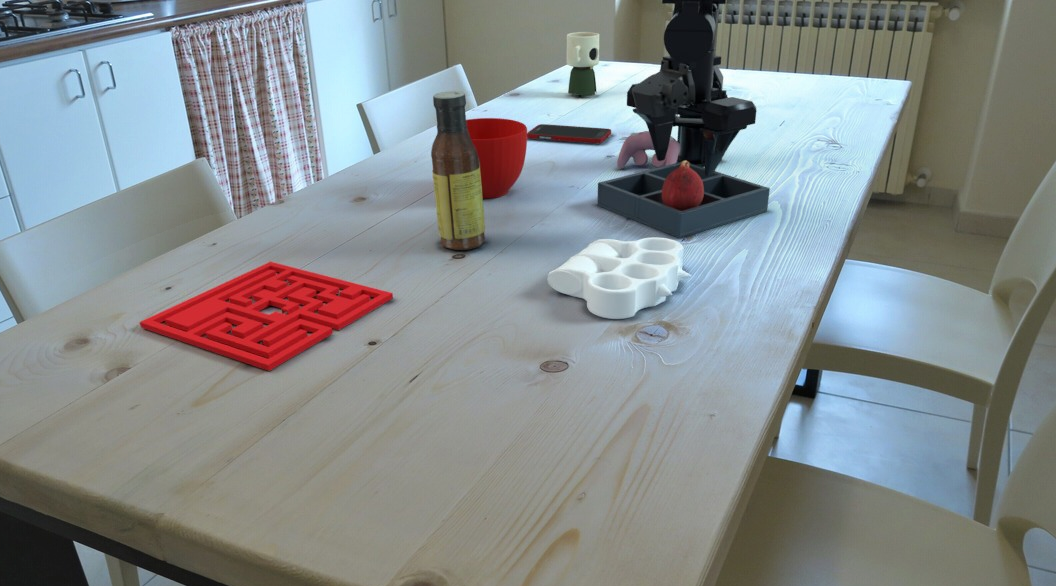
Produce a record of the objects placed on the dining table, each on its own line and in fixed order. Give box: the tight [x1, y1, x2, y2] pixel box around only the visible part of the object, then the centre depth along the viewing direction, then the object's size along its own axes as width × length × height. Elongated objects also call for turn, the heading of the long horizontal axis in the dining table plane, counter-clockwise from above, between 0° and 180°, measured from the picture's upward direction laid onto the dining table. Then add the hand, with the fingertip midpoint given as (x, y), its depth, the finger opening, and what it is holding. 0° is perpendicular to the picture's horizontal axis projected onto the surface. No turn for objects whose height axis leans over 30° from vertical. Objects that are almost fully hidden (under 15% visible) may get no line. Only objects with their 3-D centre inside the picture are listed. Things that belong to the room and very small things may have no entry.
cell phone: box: [527, 123, 612, 145], centre depth 166 cm, size 8×15×1 cm, turn 69°
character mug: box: [566, 31, 600, 98], centre depth 194 cm, size 11×7×13 cm, turn 159°
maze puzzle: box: [139, 261, 394, 372], centre depth 101 cm, size 20×20×1 cm
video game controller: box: [616, 130, 680, 170], centre depth 147 cm, size 10×5×7 cm, turn 65°
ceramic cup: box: [466, 117, 528, 199], centre depth 135 cm, size 13×17×10 cm
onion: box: [662, 160, 704, 211], centre depth 123 cm, size 6×6×8 cm
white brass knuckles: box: [546, 236, 692, 320], centre depth 105 cm, size 3×18×15 cm
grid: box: [596, 162, 771, 239], centre depth 129 cm, size 17×17×4 cm
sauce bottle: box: [430, 90, 486, 251], centre depth 115 cm, size 7×6×20 cm
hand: (684, 167), depth 121 cm, fingers open, 9 cm apart
